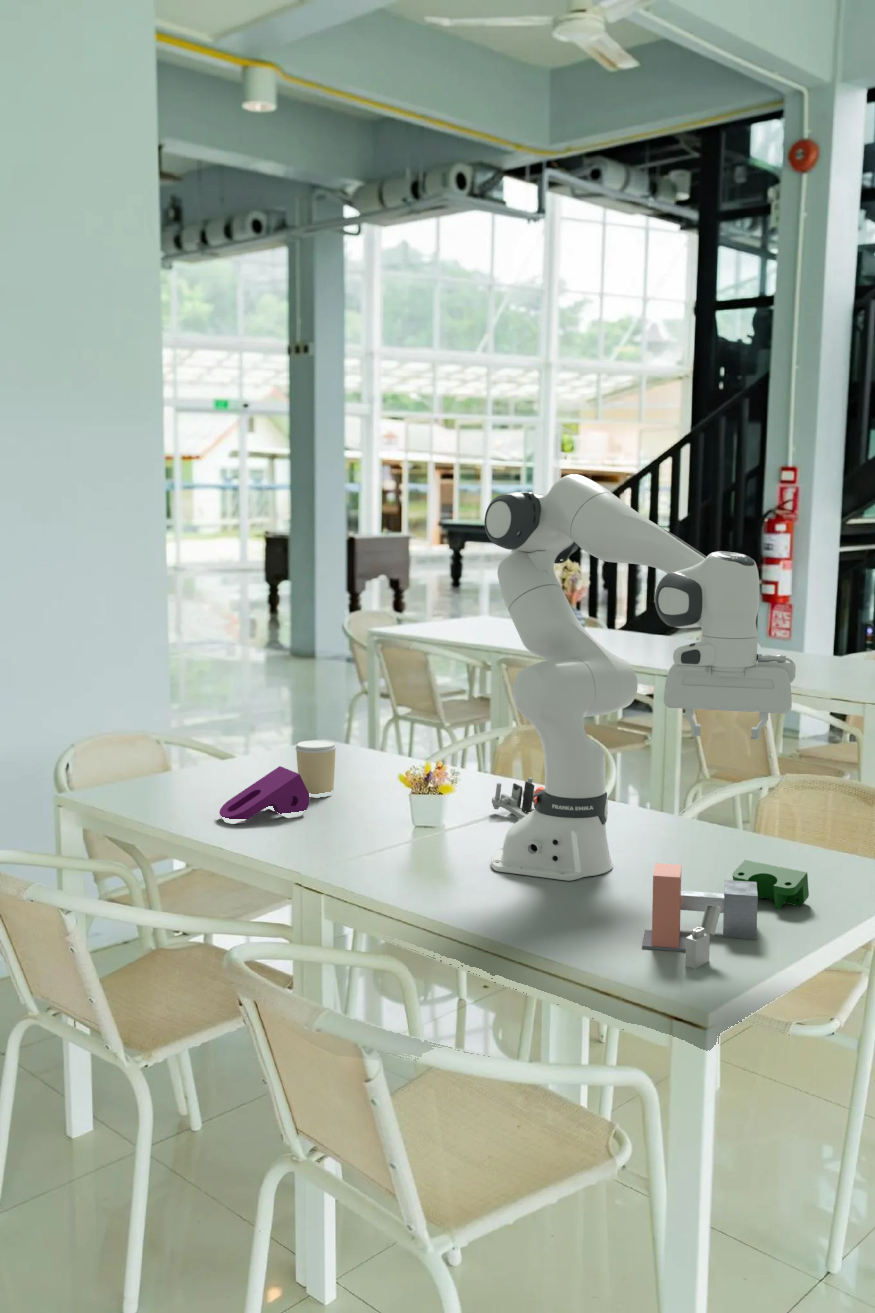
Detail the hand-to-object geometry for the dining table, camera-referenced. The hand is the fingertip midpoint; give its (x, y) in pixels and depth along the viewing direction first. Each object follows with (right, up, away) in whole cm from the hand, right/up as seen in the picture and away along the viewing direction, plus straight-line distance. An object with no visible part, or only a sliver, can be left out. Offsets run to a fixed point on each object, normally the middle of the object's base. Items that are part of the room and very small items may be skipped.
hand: (725, 737), depth 194 cm
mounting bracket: (-85, -22, +64) cm, 108 cm away
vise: (-5, -30, -5) cm, 31 cm away
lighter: (-8, -32, -18) cm, 38 cm away
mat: (-12, -31, -11) cm, 35 cm away
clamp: (+9, -29, +7) cm, 31 cm away
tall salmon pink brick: (-12, -30, -11) cm, 34 cm away
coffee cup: (-75, -19, +83) cm, 114 cm away
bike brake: (-25, -22, +62) cm, 70 cm away
